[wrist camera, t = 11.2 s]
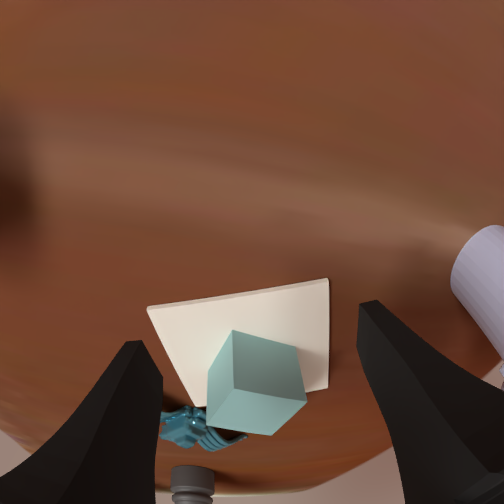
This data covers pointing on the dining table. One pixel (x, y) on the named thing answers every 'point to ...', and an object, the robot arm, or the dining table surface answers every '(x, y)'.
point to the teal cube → (254, 385)
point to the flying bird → (193, 430)
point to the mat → (247, 330)
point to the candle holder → (192, 485)
